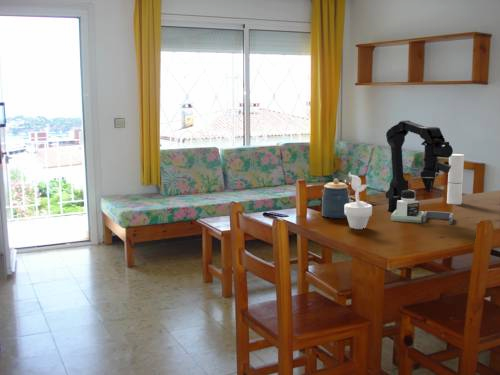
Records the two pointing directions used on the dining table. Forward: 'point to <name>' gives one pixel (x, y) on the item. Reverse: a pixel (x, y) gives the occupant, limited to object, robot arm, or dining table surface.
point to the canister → (335, 199)
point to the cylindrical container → (455, 179)
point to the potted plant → (357, 206)
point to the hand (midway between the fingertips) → (429, 191)
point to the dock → (438, 215)
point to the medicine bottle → (408, 204)
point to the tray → (407, 217)
